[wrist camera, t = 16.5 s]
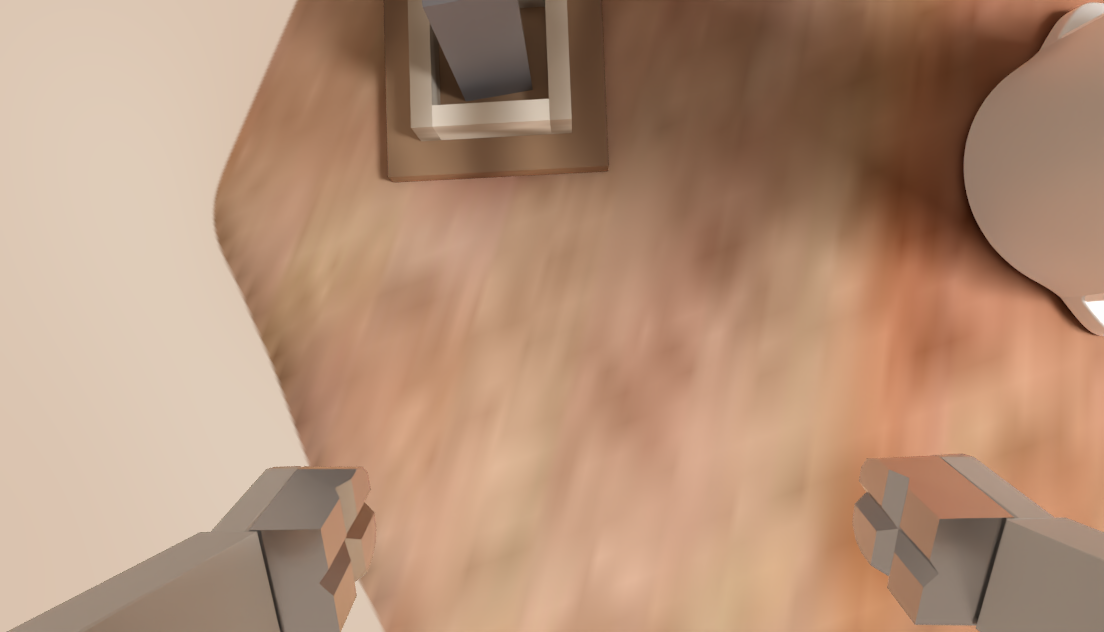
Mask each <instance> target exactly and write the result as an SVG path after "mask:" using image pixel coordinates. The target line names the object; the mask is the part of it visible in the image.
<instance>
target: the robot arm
mask: <svg viewBox="0 0 1104 632" xmlns="http://www.w3.org/2000/svg"><path fill="white" fill-rule="evenodd" d="M964 181H965V188H966V193H967V197H968V201H969V204H970V207H971V210H972V213H973V215H974V217H975V220H976V222H977V224H978V225H979V227H980V229H981V231H982V232H983V234H984V236H985V237H986V238H987V240H988V241H989V243H990V244H991V245H992V246H993V248H994V249H995V250H996V251H997V252H998V253H999V254H1000V255H1001V256H1002V257H1003V258H1004V259H1005V260H1006V261H1007V262H1008V263H1009V264H1010V265H1012V266H1013V267H1014V268H1015V269H1017V270H1018V271H1019V272H1021V273H1022V274H1024V275H1025V276H1027V277H1029V278H1030V279H1032V280H1034V281H1036V282H1038V283H1039V284H1041V285H1043V286H1045V287H1046V288H1048V289H1050V290H1051V291H1053V292H1054V293H1055V294H1057V295H1058V296H1059V297H1060V298H1061V299H1062V300H1063V301H1064V303H1065V304H1066V305H1067V307H1068V308H1069V309H1070V310H1071V312H1072V313H1073V314H1074V316H1075V317H1076V318H1077V319H1078V320H1079V321H1080V323H1081V324H1082V325H1083V326H1084V327H1085V328H1087V329H1088V330H1089V331H1090V332H1092V333H1094V334H1096V335H1099V336H1104V3H1086V4H1083V5H1081V6H1079V7H1078V8H1076V9H1074V10H1072V11H1070V12H1068V13H1066V14H1065V15H1063V16H1062V17H1061V18H1060V19H1059V20H1058V21H1057V23H1056V24H1055V25H1054V27H1053V28H1052V30H1051V31H1050V33H1049V35H1048V36H1047V38H1046V40H1045V42H1044V43H1043V45H1042V47H1041V49H1040V51H1039V52H1038V53H1036V54H1035V55H1034V56H1033V57H1032V58H1031V59H1030V60H1029V61H1027V62H1026V63H1024V64H1023V65H1022V66H1020V67H1019V68H1017V69H1016V70H1015V71H1013V72H1012V73H1010V74H1009V75H1008V76H1007V77H1006V78H1004V79H1003V80H1002V81H1001V82H1000V83H999V84H998V85H997V86H996V87H995V88H994V89H993V90H992V92H991V93H990V94H989V95H988V97H987V98H986V99H985V101H984V102H983V104H982V105H981V107H980V108H979V110H978V112H977V114H976V116H975V118H974V120H973V123H972V125H971V128H970V131H969V134H968V138H967V142H966V147H965V154H964ZM859 482H860V483H861V485H862V486H863V488H864V489H865V491H866V493H865V494H864V495H863V496H862V497H861V498H860V499H859V500H858V501H857V502H856V503H855V507H854V514H853V527H854V533H855V539H856V541H857V544H858V546H859V548H860V550H861V553H862V554H863V555H864V557H865V558H866V560H867V561H868V562H869V564H870V565H871V566H873V567H874V568H876V569H878V570H879V571H881V572H883V573H884V574H886V575H888V576H889V579H888V586H887V588H888V589H889V591H890V592H891V593H892V595H893V596H894V597H895V599H896V600H897V601H898V603H899V604H900V605H901V607H902V608H903V609H904V611H905V612H906V613H907V615H908V616H909V617H910V619H911V620H912V621H913V623H914V624H915V625H977V626H976V629H977V630H979V631H980V632H1104V532H1101V531H1099V530H1096V529H1094V528H1091V527H1088V526H1086V525H1083V524H1081V523H1078V522H1076V521H1073V520H1070V519H1068V518H1054V517H1053V516H1052V515H1050V514H1049V513H1048V512H1046V511H1045V510H1044V509H1042V508H1041V507H1040V506H1038V505H1037V504H1036V503H1034V502H1033V501H1032V500H1030V499H1029V498H1028V497H1026V496H1025V495H1024V494H1022V493H1021V492H1020V491H1018V490H1017V489H1016V488H1014V487H1013V486H1012V485H1010V484H1009V483H1008V482H1006V481H1005V480H1004V479H1002V478H1001V477H1000V476H998V475H997V474H996V473H994V472H993V471H992V470H990V469H989V468H988V467H986V466H985V465H984V464H982V463H981V462H980V461H978V460H977V459H976V458H974V457H972V456H968V455H965V454H949V455H931V456H915V457H890V458H867V459H866V461H865V462H864V464H863V466H862V467H861V473H860V478H859ZM370 490H371V487H370V482H369V477H368V472H367V471H366V470H365V469H364V468H363V467H307V466H305V467H300V466H294V467H273V468H269V469H266V470H265V471H264V472H263V474H262V475H261V476H260V477H259V478H258V479H257V480H256V481H255V483H254V484H253V485H252V486H251V487H250V488H249V489H248V490H247V492H246V493H245V494H244V495H243V496H242V497H241V498H240V499H239V501H238V502H237V503H236V504H235V505H234V506H233V507H232V508H231V510H230V511H229V512H228V513H227V514H226V515H225V516H224V517H223V519H222V520H221V521H220V522H219V523H218V524H217V525H216V526H215V527H214V529H213V530H212V531H211V532H200V533H198V534H196V535H194V536H192V537H190V538H188V539H186V540H184V541H182V542H180V543H178V544H176V545H175V546H172V547H171V548H169V549H167V550H165V551H163V552H161V553H159V554H157V555H155V556H153V557H151V558H149V559H147V560H146V561H143V562H141V563H139V564H137V565H136V566H134V567H132V568H130V569H128V570H126V571H124V572H122V573H120V574H118V575H116V576H114V577H112V578H110V579H109V580H106V581H104V582H103V583H101V584H99V585H97V586H95V587H93V588H91V589H89V590H87V591H85V592H83V593H81V594H79V595H77V596H75V597H73V598H72V599H70V600H68V601H66V602H64V603H62V604H60V605H58V606H56V607H54V608H52V609H50V610H48V611H46V612H44V613H42V614H41V615H38V616H37V617H35V618H33V619H31V620H29V621H27V622H25V623H23V624H21V625H19V626H17V627H15V628H13V629H11V630H9V631H7V632H341V630H342V628H343V625H344V623H345V621H346V619H347V616H348V614H349V612H350V609H351V607H352V605H353V603H354V601H355V598H356V589H355V583H354V582H355V581H357V580H358V579H359V578H361V577H362V576H363V575H365V574H366V573H367V571H368V568H369V566H370V563H371V561H372V558H373V553H374V548H375V543H376V521H375V513H374V512H373V511H372V509H371V508H370V507H369V506H368V505H367V504H366V503H365V500H366V498H367V496H368V494H369V492H370Z"/></svg>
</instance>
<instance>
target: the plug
mask: <svg viewBox="0 0 1104 632" xmlns="http://www.w3.org/2000/svg"><path fill="white" fill-rule="evenodd" d="M422 6H423V9H424V11H425V13H426V15H427V18H428V20H429V22H430V24H431V26H432V29H433V31H434V33H435V35H436V37H437V39H438V42H439V44H440V46H441V48H442V50H443V53H444V55H445V57H446V59H447V61H448V63H449V66H450V68H451V70H452V72H453V74H454V77H455V79H456V81H457V83H458V85H459V87H460V90H461V92H462V94H463V96H464V98H465V101H466V102H467V101H472V100H478V99H484V98H489V97H495V96H501V95H507V94H512V93H518V92H524V91H530V90H533V89H532V82H531V76H530V70H529V63H528V57H527V51H526V44H525V38H524V32H523V25H522V20H521V14H520V8H519V2H518V0H422Z"/></svg>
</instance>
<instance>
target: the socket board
mask: <svg viewBox="0 0 1104 632" xmlns="http://www.w3.org/2000/svg"><path fill="white" fill-rule="evenodd" d="M518 2H519V8H520V14H521V20H522V25H523V32H524V38H525V44H526V51H527V57H528V63H529V70H530V76H531V82H532V89H533V90H530V91H524V92H518V93H512V94H507V95H501V96H495V97H489V98H484V99H478V100H472V101H467V102H466V101H465V98H464V96H463V94H462V92H461V90H460V87H459V85H458V83H457V81H456V79H455V77H454V74H453V72H452V70H451V68H450V66H449V63H448V61H447V59H446V57H445V55H444V53H443V50H442V48H441V46H440V44H439V42H438V39H437V37H436V35H435V33H434V31H433V29H432V26H431V24H430V22H429V20H428V18H427V15H426V13H425V11H424V9H423V6H422V0H384V30H385V73H386V115H387V158H388V178H389V179H390V180H392V181H393V182H409V181H428V180H447V179H466V178H486V177H505V176H524V175H543V174H563V173H582V172H601V171H608V167H609V160H608V137H607V115H606V92H605V70H604V47H603V25H602V2H601V0H518Z"/></svg>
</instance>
